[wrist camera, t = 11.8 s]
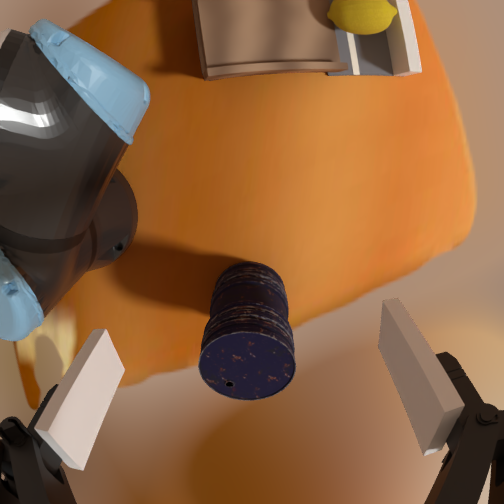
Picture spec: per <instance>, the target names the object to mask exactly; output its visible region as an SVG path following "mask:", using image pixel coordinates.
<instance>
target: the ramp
mask: <svg viewBox="0 0 504 504" xmlns="http://www.w3.org/2000/svg"><path fill="white" fill-rule="evenodd" d="M192 7H193V14H194V21H195V28H196V35H197V42H198V49H199V56H200V63H201V70H202V75H203V76H204V81H206V80H209V81H212V80H218V79H224V78H230V77H239V76H249V75H262V74H277V73H304V72H341V71H345V70H348V63H344V62H340V56H339V50H338V44H337V39H336V33H335V28H334V23H333V21H332V20H331V19H329V18H328V17H327V13H328V12H329V10H330V4H329V0H192Z"/></svg>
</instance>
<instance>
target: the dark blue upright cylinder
mask: <svg viewBox="0 0 504 504" xmlns="http://www.w3.org/2000/svg"><path fill="white" fill-rule="evenodd" d="M198 367H199V372H200V375H201V377H202V379H203V380H204V382H205V383H206V384H207V385H208V386H209V387H210V388H211V389H213V390H214V391H216V392H218V393H219V394H221V395H224V396H226V397H229V398H233V399H238V400H260V399H264V398H268V397H270V396H273V395H275V394H277V393H279V392H280V391H282V390H283V389H285V388H286V387H287V386H288V385H289V384H290V382H291V381H292V379H293V377H294V374H295V371H296V363H295V357H294V342H293V333H292V329H291V326H290V324H289V322H288V301H287V295H286V292H285V288H284V284H283V281H282V279H281V278H280V276H279V275H278V274H277V273H276V272H275V271H274V270H273V269H272V268H270V267H268V266H266V265H264V264H261V263H257V262H243V263H238V264H235V265H233V266H231V267H229V268H228V269H226V270H225V271H224V272H223V273H222V274H221V275H220V277H219V278H218V280H217V282H216V286H215V290H214V292H213V295H212V299H211V307H210V319H209V321H208V323H207V325H206V327H205V330H204V335H203V339H202V344H201V353H200V357H199V364H198Z"/></svg>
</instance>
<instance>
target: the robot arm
mask: <svg viewBox="0 0 504 504" xmlns="http://www.w3.org/2000/svg"><path fill="white" fill-rule="evenodd" d="M29 33H30V34H25V33H22V32H19V31H16V30H12V29H9V28H8V29H6V30H4V31H2V32H0V339H3V340H10V341H19V340H22V339H24V338H25V337H27V336H28V335H29V334H30V333H31V332H32V331H33V330H34V329H35V328H36V327H38V326H40V325H41V324H42V322H43V321H44V318H45V317H46V316H47V314H48V313H49V312H50V311H51V310H52V309H53V308H54V306H55V305H56V304H57V303H58V302H59V301H60V300H61V299H62V297H63V296H64V295H65V294H66V293H67V292H68V291H69V290H70V289H71V288H72V286H73V285H74V284H75V283H76V282H77V281H78V280H79V279H80V278H81V277H82V276H83V275H84V274H85V272H88V271H91V270H95V269H98V268H101V267H104V266H107V265H109V264H111V263H112V262H114V261H115V260H116V259H118V258H119V257H120V256H121V255H122V254H123V252H124V251H125V250H126V249H127V248H128V246H129V245H130V243H131V242H132V240H133V238H134V235H135V232H136V228H137V221H138V211H137V204H136V200H135V196H134V193H133V191H132V189H131V187H130V185H129V183H128V181H127V180H126V178H125V177H124V176H123V175H122V174H121V172H120V171H119V170H118V169H116V168H117V166H118V164H119V162H120V161H121V159H122V157H123V155H124V153H125V151H126V149H127V147H128V146H129V145H131V144H132V143H133V135H134V133H135V131H136V129H137V127H138V125H139V123H140V121H141V119H142V118H143V116H144V114H145V112H146V110H147V108H148V106H149V103H150V91H149V88H148V86H147V84H146V83H145V82H144V81H143V80H142V79H141V78H140V77H138V76H137V75H136V74H134V73H133V72H131V71H130V70H128V69H127V68H125V67H124V66H123V65H121V64H120V63H118V62H117V61H115V60H113V59H112V58H110V57H109V56H107V55H106V54H104V53H102V52H101V51H99V50H98V49H96V48H95V47H93V46H92V45H90V44H88V43H87V42H85V41H83V40H82V39H80V38H78V37H77V36H75V35H73V34H72V33H70V32H68V31H66V30H64V29H63V28H61V27H59V26H58V25H56V24H54V23H52V22H50V21H49V20H47V19H41V20H39V21H37V22H36V23H35V24H34V25H33V26H31V27H30V30H29ZM378 348H379V350H380V352H381V354H382V356H383V359H384V361H385V363H386V365H387V368H388V370H389V372H390V374H391V377H392V379H393V381H394V384H395V386H396V388H397V391H398V393H399V395H400V398H401V400H402V403H403V405H404V407H405V410H406V412H407V415H408V417H409V419H410V422H411V425H412V427H413V430H414V432H415V435H416V437H417V440H418V443H419V445H420V448H421V450H422V453H423V456H425V455H428V454H431V453H434V452H437V451H440V450H442V448H443V446H444V444H445V443H447V445H448V447H449V451H448V453H447V454H446V456H445V458H444V459H443V461H442V463H443V465H442V467H441V469H440V472H439V474H438V476H437V478H436V481H435V483H434V485H433V487H432V489H431V491H430V493H429V495H428V497H427V499H426V501H425V503H424V504H477V503H478V500H479V498H480V495H481V492H482V489H483V486H484V484H485V481H486V478H487V474H488V471H489V468H490V465H491V478H490V490H489V500H488V504H504V410H498V409H497V408H496V407H495V406H493V405H491V404H486V403H484V402H483V400H482V399H481V397H480V396H479V394H478V392H477V391H476V389H475V387H474V386H473V384H472V383H471V381H470V380H469V378H468V376H466V373H465V372H464V370H463V369H462V367H461V365H460V364H459V362H458V361H457V359H456V358H455V357H453V356H452V355H450V354H449V353H448V352H444V353H440V354H436V355H435V354H434V352H433V351H432V349H431V347H430V346H429V344H428V343H427V341H426V340H425V338H424V336H423V335H422V334H421V332H420V330H419V329H418V327H417V325H416V324H415V322H414V321H413V319H412V318H411V317H410V315H409V313H408V312H407V310H406V309H405V307H404V306H403V305H402V303H401V302H400V300H399V299H398V298H394V299H389V300H383V303H382V316H381V326H380V335H379V344H378ZM124 371H125V369H124V367H123V365H122V363H121V361H120V359H119V356H118V354H117V352H116V350H115V348H114V346H113V343H112V341H111V339H110V337H109V334H108V332H107V330H106V329H94V330H93V331H92V333H91V334H90V336H89V337H88V339H87V340H86V342H85V343H84V345H83V346H82V348H81V350H80V351H79V353H78V354H77V356H76V357H75V359H74V361H73V362H72V364H71V365H70V367H69V369H68V370H67V372H66V374H65V375H64V377H63V379H62V380H61V382H60V384H56V385H55V386H54V387H53V388H52V389H50V390H49V391H48V393H47V395H46V397H45V398H44V401H42V403H41V405H40V407H39V408H38V410H37V412H36V413H35V415H34V417H33V419H32V420H31V422H30V424H29V426H28V428H26V427H25V426H24V425H23V423H22V422H21V421H20V420H19V419H18V418H17V417H8V418H6V419H4V420H3V421H2V422H1V423H0V436H1V437H2V439H0V504H77V503H76V501H75V498H74V496H73V493H72V491H71V488H70V486H69V483H68V480H67V478H66V475H65V472H64V470H63V468H62V466H61V465H60V464H61V462H62V460H63V461H64V462H65V463H66V464H67V465H68V466H69V467H71V468H75V469H79V470H84V467H85V465H86V462H87V459H88V457H89V454H90V452H91V449H92V446H93V444H94V441H95V438H96V436H97V434H98V431H99V429H100V427H101V424H102V422H103V419H104V417H105V414H106V412H107V410H108V407H109V405H110V402H111V400H112V398H113V396H114V393H115V391H116V389H117V386H118V384H119V382H120V380H121V377H122V375H123V373H124ZM1 473H2V474H3V475H4V476H5V479H4V480H2V479H1Z"/></svg>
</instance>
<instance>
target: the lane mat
mask: <svg viewBox="0 0 504 504" xmlns="http://www.w3.org/2000/svg"><path fill="white" fill-rule="evenodd" d="M332 2H333V0H329V4H330V6H331V3H332ZM333 23H334V22H333ZM334 28H335V33H336V39H337V44H338V50H339V56H340V62H344V63H348V70H345V71H341V72H327V73H328V76H340V75H354V74H353V68H352V61H351V55H350V49H349V43H348V38H347V33H346V31H343V30H342V29H340V28H339V27H337V26H336V25H335V24H334ZM353 36H354V41H355V47H356V53H357V59H358V65H359V72H360V75H383V76H393V69H392V62H391V56H390V50H389V45H388V39H387V34H386V29H385V30H384V31H381V32H379V33H375V34H368V35H361V34H353Z"/></svg>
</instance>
